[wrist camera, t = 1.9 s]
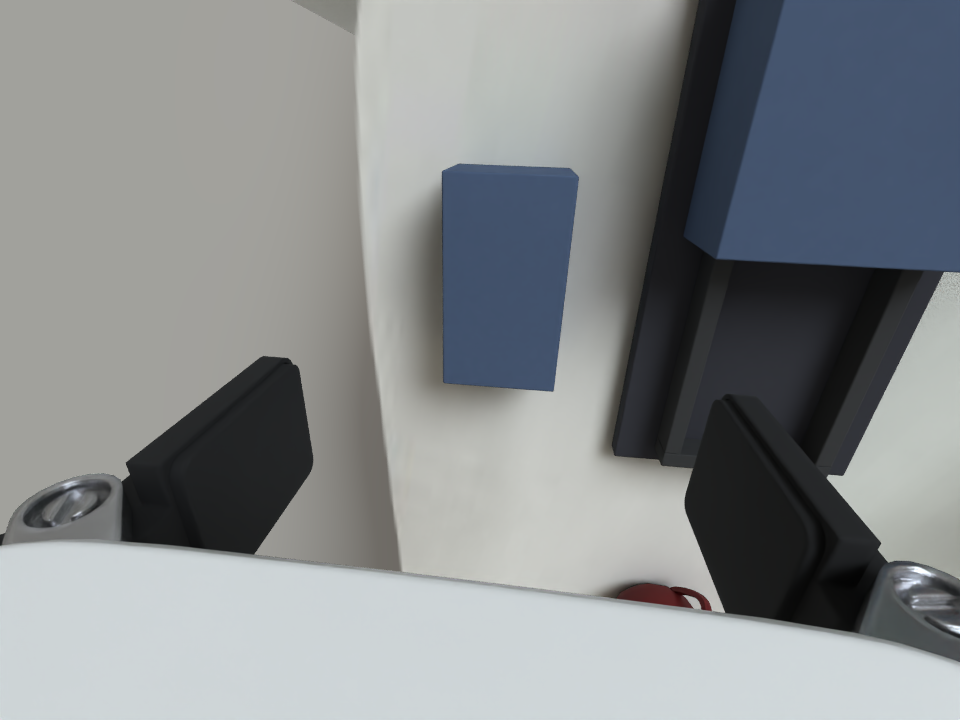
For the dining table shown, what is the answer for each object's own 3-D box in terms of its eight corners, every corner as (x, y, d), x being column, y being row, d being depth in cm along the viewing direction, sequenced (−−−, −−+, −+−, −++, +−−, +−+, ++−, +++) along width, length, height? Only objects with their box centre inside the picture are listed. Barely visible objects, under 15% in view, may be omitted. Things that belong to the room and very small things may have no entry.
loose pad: (456, 346, 24) (443, 383, 21) (457, 163, 20) (441, 170, 17) (550, 353, 24) (553, 392, 20) (571, 168, 20) (579, 176, 16)
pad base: (611, 445, 26) (627, 509, 22) (709, -55, 16) (775, -125, 12) (832, 464, 25) (897, 535, 21) (1078, -55, 15) (1299, -130, 11)
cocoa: (683, 549, 29) (771, 791, 18) (727, 606, 31) (829, 856, 20) (557, 598, 32) (569, 828, 22) (603, 647, 34) (635, 881, 24)
